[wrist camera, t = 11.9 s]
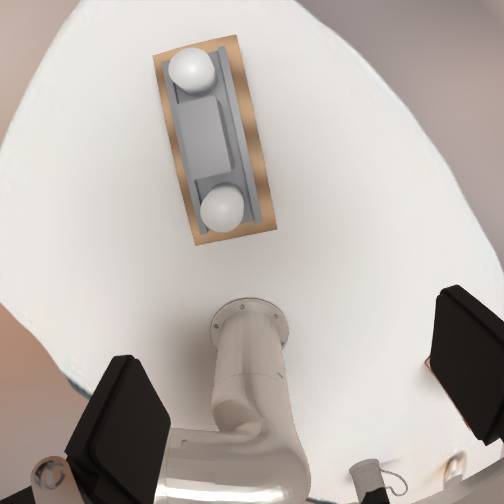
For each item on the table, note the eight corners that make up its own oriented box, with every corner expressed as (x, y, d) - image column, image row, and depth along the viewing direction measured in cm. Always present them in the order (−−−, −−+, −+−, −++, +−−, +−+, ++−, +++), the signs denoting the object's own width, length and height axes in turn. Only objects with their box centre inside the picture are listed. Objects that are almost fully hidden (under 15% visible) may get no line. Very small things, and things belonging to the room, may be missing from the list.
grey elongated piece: (261, 216, 36) (265, 237, 28) (203, 228, 37) (191, 252, 29) (226, 52, 30) (220, 26, 22) (167, 67, 30) (145, 47, 22)
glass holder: (349, 464, 66) (360, 507, 52) (397, 449, 65) (413, 490, 51) (349, 476, 69) (359, 517, 55) (394, 463, 68) (408, 501, 54)
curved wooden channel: (272, 216, 44) (277, 229, 37) (203, 230, 44) (195, 245, 38) (237, 51, 36) (236, 34, 29) (166, 68, 36) (152, 55, 30)
